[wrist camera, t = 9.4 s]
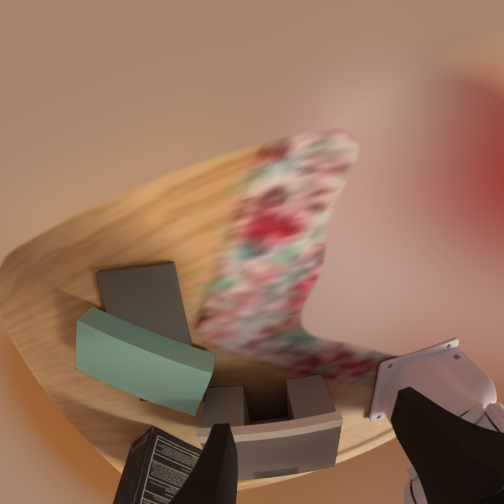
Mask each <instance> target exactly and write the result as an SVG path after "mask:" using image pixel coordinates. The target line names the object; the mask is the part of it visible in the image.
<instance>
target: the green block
mask: <svg viewBox="0 0 504 504" xmlns="http://www.w3.org/2000/svg"><path fill="white" fill-rule="evenodd" d="M214 359H215V354H214V353H211V352H208V351H204V350H201V349H198V348H195V347H192V346H189V345H187V344H184V343H181V342H178V341H175V340H172V339H170V338H167V337H164V336H162V335H159V334H156V333H154V332H151V331H149V330H146V329H144V328H141V327H139V326H136V325H134V324H131V323H129V322H126V321H124V320H122V319H119V318H117V317H115V316H112V315H110V314H108V313H106V312H104V311H101V310H99V309H97V308H95V307H93V306H92V307H90V308H89V309H88V310H87V311H86V312H85V313H84V314H83V315H82V316H81V317H80V318H79V319H78V320H77V331H76V356H75V369H77V370H79V371H81V372H83V373H85V374H87V375H89V376H91V377H93V378H95V379H97V380H99V381H101V382H104V383H106V384H108V385H110V386H112V387H115V388H117V389H119V390H122V391H124V392H127V393H129V394H131V395H134V396H137V397H139V398H142V399H144V400H147V401H150V402H152V403H155V404H158V405H161V406H164V407H167V408H170V409H173V410H176V411H179V412H182V413H186V414H189V415H192V416H195V415H196V412H197V410H198V408H199V405H200V403H201V400H202V398H203V396H204V393H205V391H206V388H207V386H208V384H209V381H210V379H211V376H212V374H213V367H214Z"/></svg>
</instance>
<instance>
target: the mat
mask: <svg viewBox="0 0 504 504" xmlns="http://www.w3.org/2000/svg"><path fill="white" fill-rule="evenodd" d="M95 274H96V278H97V281H98V285H99V289H100V292H101V296H102V299H103V303H104V306H105V309H106V313H108V314H110V315H112V316H115V317H117V318H119V319H122V320H124V321H126V322H129V323H131V324H134V325H136V326H139V327H141V328H144V329H146V330H149V331H151V332H154V333H156V334H159V335H162V336H164V337H167V338H170V339H172V340H175V341H178V342H181V343H184V344H187V345H189V346H192V347H193V345H192V341H191V337H190V333H189V329H188V325H187V321H186V317H185V312H184V308H183V303H182V299H181V294H180V289H179V285H178V280H177V275H176V270H175V264H174V262H168V263H160V264H152V265H143V266H135V267H127V268H119V269H111V270H102V271H98V272H97V273H95ZM139 399H140V401H147V400H144V399H142V398H139ZM205 400H206V393H204V396H203V398H202V400H201V401H205Z"/></svg>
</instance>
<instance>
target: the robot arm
mask: <svg viewBox="0 0 504 504" xmlns="http://www.w3.org/2000/svg"><path fill="white" fill-rule="evenodd" d="M458 343H459V340H458V338H453V339H450V340H447V341H445V342H442V343H439V344H437V345H434V346H431V347H428V348H425V349H422V350H419V351H416V352H413V353H410V354H407V355H404V356H400V357H397V358H394V359H390V360H387V361H384V362H382V363H381V364H380V365H379V369H378V375H377V381H376V386H375V392H374V397H373V402H372V406H371V411H370V415H369V419H370V421H376V420H379V419H382V418H385V417H387V419H388V421H389V422H390V424H391V426H392V428H393V429H394V431H395V434H396V436H397V438H398V440H399V442H400V444H401V445H402V447H403V449H404V451H405V453H406V455H407V456H408V458H409V460H410V462H411V464H412V465H411V466H410V467H409V468H408V469H407V472H408V474H409V476H410V479H409V480H408V481H407V482H406V484H405V487H404V502H405V504H504V406H503V405H502V404H500V403H499V402H497V403H496V390H495V387H494V384H493V382H492V380H491V378H490V377H489V376H488V375H487V373H486V372H484V371H483V370H482V369H481V368H480V367H479V366H478V365H477V364H476V363H475V362H474V361H473V360H471V359H470V358H469V357H468V356H467V355H466V354H465V353H464V352H462V351H461V350H460V349H459V348H458V347H457V346H458ZM389 364H390V365H389ZM388 365H389V366H388ZM237 481H238V457H237V448H236V445H235V441H234V438H233V434H232V431H231V427H230V424H229V423H223V424H214V425H213V426H212V428H211V431H210V434H209V436H208V439H207V441H206V444H205V446H204V448H203V450H202V452H201V454H200V456H199V458H198V460H197V462H196V464H195V466H194V468H193V469H192V471H191V473H190V474H189V476H188V477H187V479H186V481H185V482H184V484H183V485H182V487H181V488H180V489H179V491H178V492H177V493H176V495H175V496H174V497H173V498H172V500H171V501H170V502H169V503H168V504H236V495H237Z"/></svg>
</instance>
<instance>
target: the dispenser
mask: <svg viewBox="0 0 504 504" xmlns="http://www.w3.org/2000/svg"><path fill="white" fill-rule="evenodd" d="M286 391H287V406H288V417H284V418H277V419H269V420H260V421H251V422H250V419H249V414H248V408H247V403H246V398H245V393H244V388H243V385H241V386H230V387H216V388H207V392H206V400H205V407H204V415H203V422H202V428H198V433H197V438H198V440H199V442H200V443H201V446H202V448H204V446H205V444H206V441H207V439H208V436H209V434H210V431H211V428H212V426H213V425H214V424H223V423H229V424H230V427H231V431H232V434H233V438H234V441H235V445H236V448H237V457H238V480H247V479H260V478H270V477H278V476H286V475H292V474H299V473H304V472H310V471H315V470H320V469H325V468H329V467H333V466H335V461H336V456H337V450H338V444H339V438H340V432H341V426H342V422H343V417H342V415H341V412H340V411H336V409H335V407H334V404H333V402H332V399H331V397H330V394H329V392H328V389H327V387H326V384H325V382H324V379H323V377H322V374H319V375H313V376H308V377H302V378H296V379H290V380H286Z"/></svg>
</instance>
